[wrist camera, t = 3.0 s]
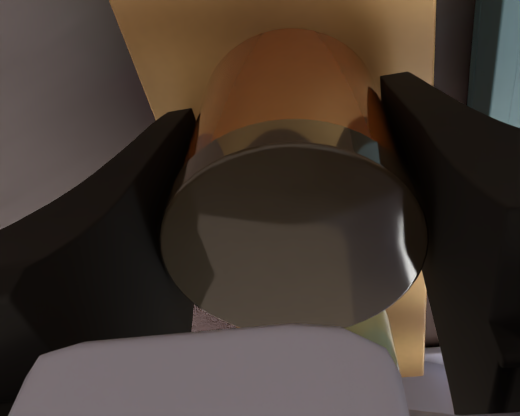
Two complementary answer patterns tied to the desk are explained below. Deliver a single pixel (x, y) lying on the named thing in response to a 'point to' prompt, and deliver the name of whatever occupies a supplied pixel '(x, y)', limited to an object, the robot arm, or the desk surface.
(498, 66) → the tray
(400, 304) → the flat wooden board
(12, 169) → the desk surface
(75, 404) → the robot arm
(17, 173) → the desk surface
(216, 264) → the amber jar
